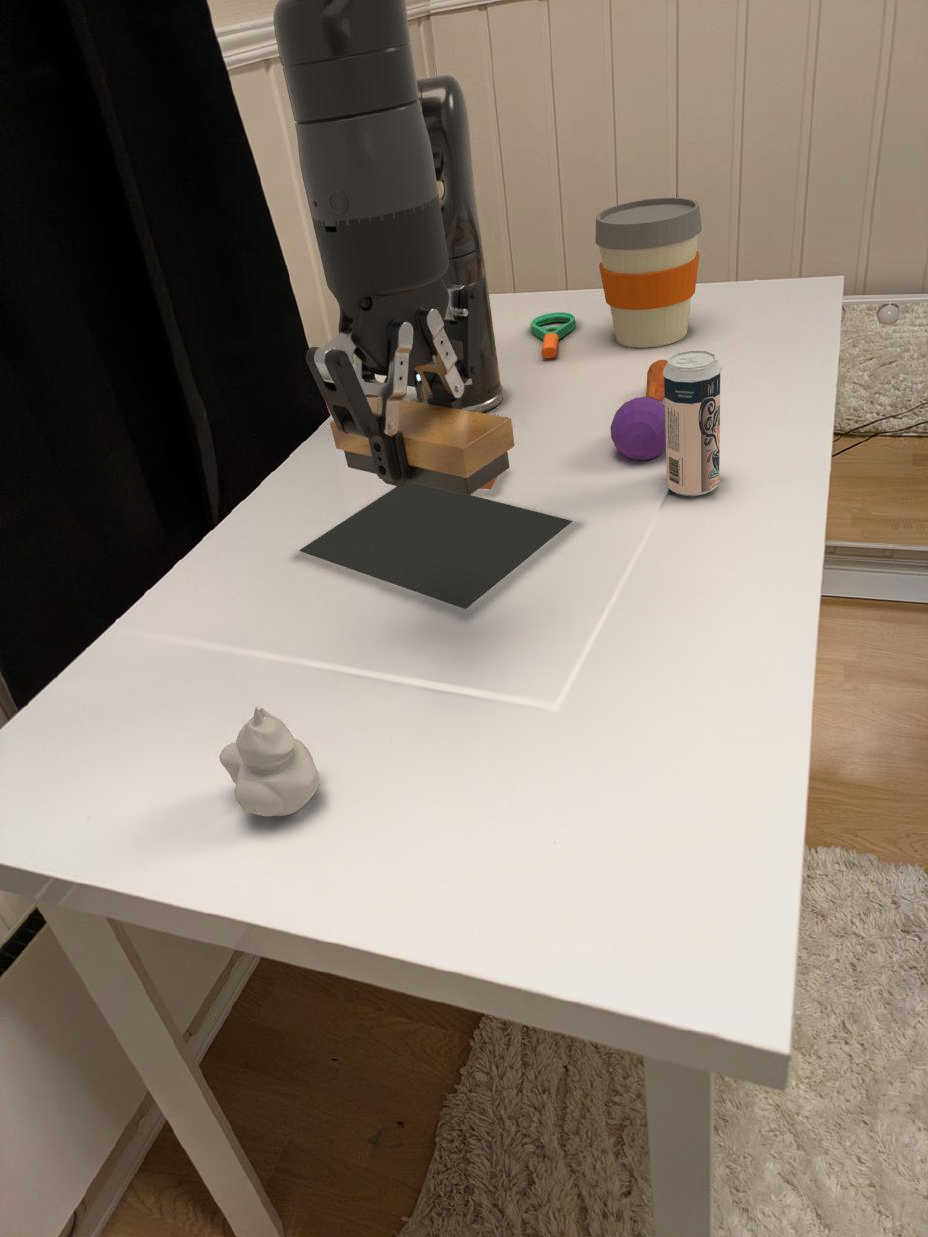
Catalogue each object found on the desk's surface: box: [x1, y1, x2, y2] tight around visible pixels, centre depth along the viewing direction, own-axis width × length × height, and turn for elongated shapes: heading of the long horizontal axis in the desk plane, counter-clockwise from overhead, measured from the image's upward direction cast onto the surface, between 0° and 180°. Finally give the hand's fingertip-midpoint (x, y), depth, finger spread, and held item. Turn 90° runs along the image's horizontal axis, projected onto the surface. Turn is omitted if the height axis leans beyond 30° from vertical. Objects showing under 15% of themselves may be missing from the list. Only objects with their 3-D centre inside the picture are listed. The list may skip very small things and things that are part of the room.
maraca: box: [610, 359, 668, 461], centre depth 93 cm, size 6×6×20 cm
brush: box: [329, 396, 515, 496], centre depth 61 cm, size 12×5×4 cm, turn 50°
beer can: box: [663, 350, 722, 497], centre depth 79 cm, size 5×5×12 cm
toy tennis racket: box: [530, 311, 577, 359], centre depth 120 cm, size 15×6×2 cm, turn 173°
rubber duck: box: [218, 706, 321, 817], centre depth 56 cm, size 5×7×8 cm
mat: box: [298, 482, 573, 610], centre depth 82 cm, size 20×15×1 cm
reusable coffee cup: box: [594, 196, 703, 349], centre depth 112 cm, size 13×13×15 cm
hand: (424, 464), depth 62 cm, fingers closed on brush, 5 cm apart
